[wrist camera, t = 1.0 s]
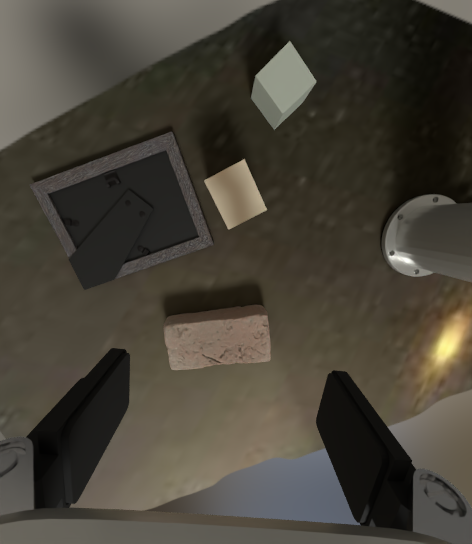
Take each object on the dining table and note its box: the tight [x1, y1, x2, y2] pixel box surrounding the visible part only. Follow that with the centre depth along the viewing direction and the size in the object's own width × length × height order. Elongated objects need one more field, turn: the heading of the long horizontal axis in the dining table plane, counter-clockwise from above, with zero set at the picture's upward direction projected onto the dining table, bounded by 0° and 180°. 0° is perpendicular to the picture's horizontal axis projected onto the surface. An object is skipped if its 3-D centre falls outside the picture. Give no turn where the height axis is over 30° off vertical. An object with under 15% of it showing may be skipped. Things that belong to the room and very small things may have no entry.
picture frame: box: [30, 132, 214, 290], centre depth 33 cm, size 16×2×21 cm
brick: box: [164, 304, 271, 370], centre depth 36 cm, size 17×8×5 cm, turn 96°
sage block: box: [251, 41, 316, 129], centre depth 28 cm, size 5×5×5 cm
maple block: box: [204, 159, 267, 230], centre depth 29 cm, size 5×6×8 cm
